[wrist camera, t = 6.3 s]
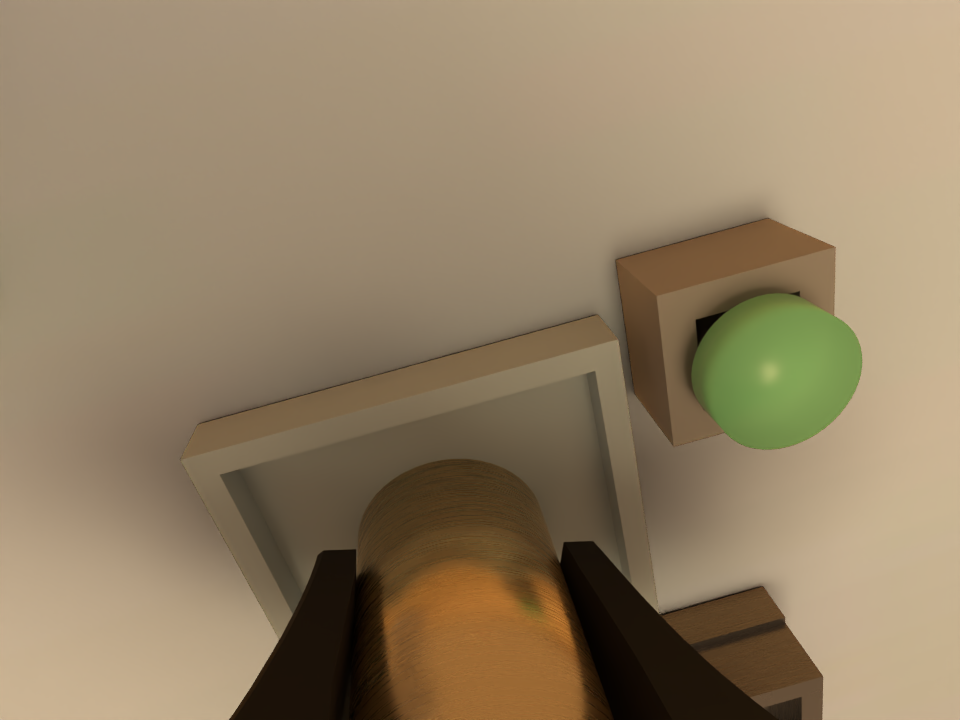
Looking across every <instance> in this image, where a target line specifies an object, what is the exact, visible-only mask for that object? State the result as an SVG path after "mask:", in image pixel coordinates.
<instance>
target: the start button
mask: <svg viewBox="0 0 960 720" xmlns="http://www.w3.org/2000/svg"><path fill="white" fill-rule="evenodd" d="M695 321H696V333H697V344H698V348H697V351H696V353H695V356H694V360H693V364H692V372H691V379H692V387H693V391H694V394H695V396H696V398H697V400H698V402H699V403H700V405H701V406H702V407H703V409H704V410H705V411H706V412H707V413H708V414H709V415H710V416H711V417H712V419H713V420H714V421H715V422H716V423H717V424H718V425H719V426H720V427H721V429H722V430H723V431H724V432H725V433H726V434H727V435H728V436H729V437H730V438H731V439H733V440H734V441H736V442H738V443H739V444H742V445H744V446H747V447H750V448H755V449H768V450H771V449H780V448H784V447H789V446H792V445H795V444H798V443H800V442H802V441H805V440H807V439H809V438H810V437H812V436H814V435H816V434H817V433H819V432H820V431H821V430H823V429H824V428H826V427H827V426H828V425H829V424H830V423H831V422H833V421H834V420H835V419H836V417H837V416H838V415H839V414H840V413H841V412H842V411H843V409H844V408H845V407H846V405H847V404H848V402H849V401H850V399H851V398H852V396H853V394H854V392H855V390H856V387H857V385H858V382H859V379H860V375H861V369H862V353H861V347H860V344H859V341H858V339H857V337H856V335H855V334H854V332H853V331H852V330H851V328H850V327H849V326H848V325H847V324H845V323H844V322H843V321H842V320H840V319H838V318H837V317H835V316H833V315H831V314H830V313H828V312H826V311H825V310H823V309H821V308H819V307H818V306H816V305H814V304H812V303H811V302H809V301H807V300H805V299H804V298H801V297H798V296H796V295H791V294H785V293H773V294H765V295H761V296H757V297H754V298H751V299H748V300H746V301H744V302H742V303H740V304H738V305H736V306H735V307H733V308H732V309H730V310H729V311H725V312H722V313H718V314H714V315H711V316H707V317H703V318H700V319H696V320H695Z"/></svg>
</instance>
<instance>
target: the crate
mask: <svg viewBox="0 0 960 720" xmlns="http://www.w3.org/2000/svg"><path fill="white" fill-rule="evenodd" d="M662 617H663V618H664V619H665V620H666V621H667V623H668V624H669V625H670V626H671V627H672V628H673V629H674V630H675V631H676V632H677V633H678V634H679V635H680V636H681V637H682V638H683V639H684V640H685V641H686V642H687V643H689V644H690V645H691V646H692V647H693V648H694V649H695V650H696V651H697V652H698V653H699V654H700V655H701V656H702V657H703V658H704V659H705V660H707V661H708V662H709V663H710V664H711V665H712V666H713V667H714V668H716V669H717V670H718V671H719V672H720V673H721V674H722V675H724V676H725V677H726V678H727V679H728V680H730V681H731V682H732V683H733V684H734V685H736V686H737V687H738V688H739V689H740V690H742V691H743V692H744V693H745V694H747V695H748V696H749V697H750V698H751V699H753V700H754V701H755V702H756V703H758V704H759V705H760V706H762V707H763V708H764V709H765V710H767V711H768V712H769V713H771V714H772V715H773V716H775V717H776V718H777V719H779V720H822V705H823V676H822V674H821V673H820V671H819V670H818V669H817V667H816V666H815V664H814V663H813V661H812V660H811V659H810V657H809V656H808V654H807V653H806V652H805V650H804V649H803V647H802V646H801V644H800V643H799V642H798V640H797V639H796V637H795V636H794V635H793V633H792V632H791V630H790V629H789V628H788V626H787V625H786V623H785V616H784V615H783V614H782V612H781V611H780V609H779V608H778V607H777V605H776V604H775V602H774V601H773V600H772V598H771V597H770V595H769V594H768V593H767V591H766V590H765V588H764V587H760V588H756V589H753V590H749V591H746V592H742V593H739V594H735V595H732V596H728V597H725V598H721V599H718V600H714V601H711V602H707V603H704V604H700V605H697V606H693V607H690V608H686V609H683V610H679V611H676V612H672V613H669V614H665V615H662Z"/></svg>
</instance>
